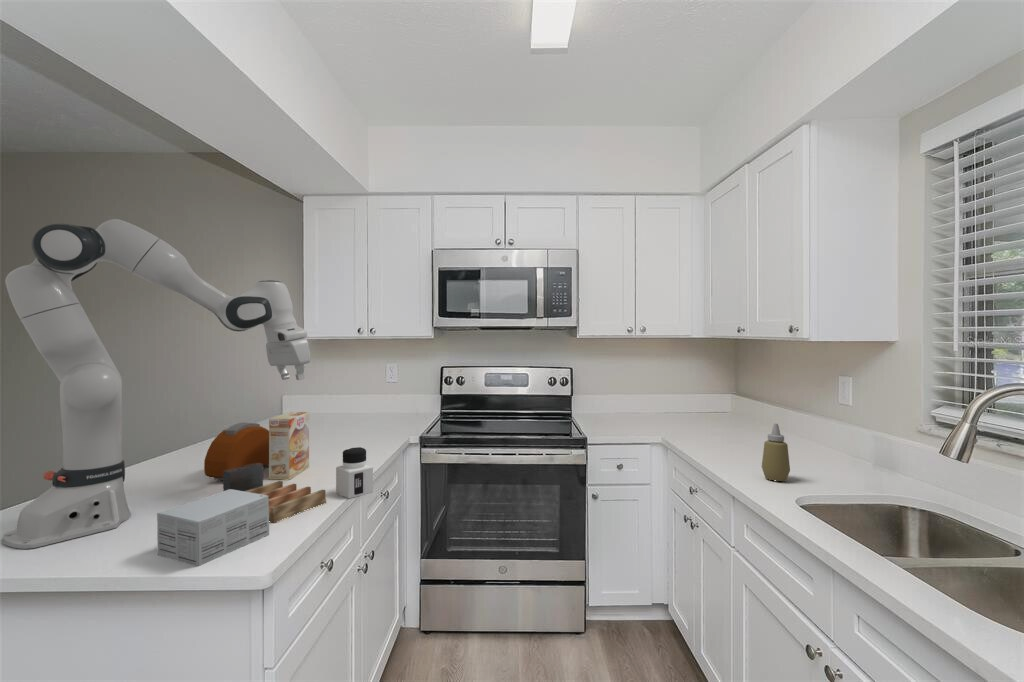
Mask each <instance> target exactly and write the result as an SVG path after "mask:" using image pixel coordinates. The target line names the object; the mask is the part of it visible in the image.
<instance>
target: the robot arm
mask: <svg viewBox="0 0 1024 682" xmlns="http://www.w3.org/2000/svg"><path fill="white" fill-rule="evenodd" d="M31 250H32V252H33V255H34V256H35V258H34V260H33V262H31V263H29V264H26V265H22V266H19V267H17V268H15V269H13V270H11V271H10V272H9V273H8V274H7V275H6V277H5V280H4V281H5V286H6V290H7V293H8V296H9V299H10V302H11V304H12V306H13V308H14V311H15V312H16V314H17V316H18V318H19V320H20V322H21V323H22V325H23V327H24V328H25V330H26V332H27V334H28V335H29V337H30V339H31V340H32V342H33V344H34V346H35V347H36V349H37V350H38V353H40V355H41V356H42V357H43V359H44V360H45V361H46V363H47V364H48V366H49V367H50V369H51V371H52V372H53V373H54V375H55V376H56V378H57V380H58V381H59V382H60V384H59V404H60V420H61V430H62V433H61V434H62V468H60V469H59V470H57V471H56V472H55V471H53V470H47V471H45V472H44V473H43V475H42V478H43V479H44V480H46V481H52V486H51V487H50V488H48V489H47V490H46V491H44V492H42V493H41V494H40V495H39V496H38V497H36V498H35V499H34V500H32V501H31V502H29V503H28V504H27V505H25V506H24V507H23V508H22V509H21V510H20V513H19V514H18V515H19V516H18V519H17V524H16V527H15V529H14V530H10V531H8V532H6V533H4V534H3V537H2V543H3V544H4V545H5V546H8V547H10V548H13V549H24V550H25V549H28V550H29V549H35V548H40V547H44V546H47V545H52V544H55V543H60V542H64V541H68V540H72V539H76V538H81V537H84V536H89V535H93V534H96V533H97V534H98V533H100V532H105V531H109V530H113V529H116V528H117V527H119V526H120V525H121V524H122V523H123V522H125V521H126V520H128V519H129V518H130V517H131V515H132V513H131V511H130V509H129V506H128V505H129V504H128V502H127V498H126V492H125V484H124V482H125V477H126V467H125V460H123V401H122V399H123V396H122V393H123V391H122V389H123V379H122V376H121V374H120V372H119V370H118V369H117V367H116V365H115V363H114V361H113V360H112V358H111V356H110V355H109V352H108V351H107V349H106V347H105V345H104V344H103V342H102V340H101V339H100V337H99V335H98V333H97V332H96V330H95V327H94V326H93V325H92V323H91V321H90V319H89V317H88V316H87V314H86V311H85V310H84V308H83V306H82V304H81V302H80V300H79V299H78V297H77V296H76V294H75V291H74V289H73V287H72V282H73V281H74V280H76V279H79V277H82V276H84V275H85V274H87V273H89V272H91V271H92V270H93V269H94V268H95V267H96V266H97V264H98V263H101V262H103V263H104V262H105V263H106V262H107V263H111V264H113V265H116V266H118V267H120V268H122V269H124V270H126V271H128V272H129V273H130V274H131V273H132V274H133V275H134V276H136V277H138V278H140V279H142V280H144V281H146V282H148V283H151V284H154V285H155V286H156V285H157V286H159V287H161V288H164V289H167V290H169V291H173V292H175V293H179V294H180V295H182V296H185V297H186V298H188V299H190V300H192V301H193V302H195V303H197V304H198V305H200V306H202V307H203V308H205V309H207V310H208V311H210V312H211V313H213V314H214V315H215V316H216V318H217V319H218V320H219V323H221V324H222V325H223V326H224V327H225V328H226V329H228V330H230V331H232V332H233V331H234V332H245V331H248V330H250V329H253V328H255V327H257V326H260V325H263V329H264V333H265V336H266V341H267V342H266V344H265V350H266V356H267V362H268V364H269V366H272V367H274V366H275V367H276V369H277V371H278V373H279V375H280V377H281V380H283V381H286V380H289V379H290V374H289V372H287V366H288V367H289V366H294V368H295V370H296V374H295V378H296V379H295V380H296V381H302V380H304V379H305V373H304V372H305V365H306V364H309V363H310V362H311V358H312V357H311V352H310V351H311V350H310V346H309V342H308V339H306V338H307V337H308V332H307V330H306V329H305V328H303V327H300V326H299V325H298V322H297V320H296V318H295V316H294V305H293V301H292V299H291V295H290V291H289V289H288V287H287V285H286V284H285V283H284V282H282V281H279V280H272V279H271V280H269V279H267V280H259V281H257V282H256V283H255V284H254V285H253V286H251V287H250V288H249V289H248V290H246V291H244V292H243V293H241V294H238V295H237V296H232V295H228V294H226V293H224V292H223V291H221V290H219V289H218V288H216V287H215V286H214V285H213V284H210V283H209V282H207V281H205V280H204V279H202V278H201V277H200V276H198V274H197V273H195V271H194V270H193V269H192V267H191V266H190V264H189V261H188V260H187V259H186V257H185V256H184V255H183V254H182V253H180V252H179V251H178V250H177V249H176V248H174V247H173V246H172V245H170V244H169V243H168V242H166V241H164V240H163V239H161V238H160V237H158V236H156V235H155V234H153V233H151V232H149V231H147V230H145V229H143V228H141V227H139V226H138V225H135V224H133V223H130V222H128V221H125V220H122V219H119V218H118V219H117V218H111V219H109V220H106V221H104V222H102V223H101V224H99V226H97V228H93V227H90V226H85V225H84V226H83V225H75V224H71V223H70V224H69V223H51V224H48V225H47V224H46V225H45V226H43V227H41V228H39V229H38V230H37V231H36V232H35V233H34V235H33V237H32V239H31Z"/></svg>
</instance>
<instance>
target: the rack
mask: <svg viewBox="0 0 1024 682" xmlns="http://www.w3.org/2000/svg"><path fill="white" fill-rule="evenodd" d="M311 491H312V487H311V486H305V487H303V488H299V489H297V483H292V484H291V483H290V484H288V485H286V486H284V481H283V480H277V481H275V482H272V483H268V484H263V486H261V487H257V488H254V489H251V490H247V491H244V492H250V493H256V494H262V495H267V496H268V499H269V521H270V522H269V523H273V524H276V523H277V521H278V522H281V521H283V520H285V519H284V518H286V519H288V518H291V517H293V516H292V515H294V514H296V515H298V514H297V513H299V512H302V511H304V510H307V509H309V510H311V509H310V508H312V509H314V508H313V507H315V508H317V507H319V506H318V505H320V506H322V505H325V504H327V497H326V496H327V495H326V493H327V492H326V491H327V490H326V489H319V490H318V491H314V492H311ZM324 503H325V504H324ZM321 504H322V505H321ZM316 506H317V507H316ZM307 511H308V510H307ZM304 512H305V511H304ZM302 513H303V512H302ZM299 514H300V513H299ZM290 516H291V517H290ZM294 516H295V515H294ZM287 517H288V518H287ZM282 519H283V520H282ZM280 520H281V521H280Z"/></svg>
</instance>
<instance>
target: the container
mask: <svg viewBox="0 0 1024 682" xmlns="http://www.w3.org/2000/svg"><path fill="white" fill-rule="evenodd" d="M373 474H374V467H373V466H372V465H369V464H367V450H366V449H365V448H364V447H361V446H354V447H348V448H346V449H344V450H343V451H342V465H338V466H336V467H335V489H336V490H335V492H336V494H338V495H340V496H342V497H345V498H347V499H354V498H357V497H360V496H361V497H362V496H365V495H369V494H372V493H373V492H374V475H373Z"/></svg>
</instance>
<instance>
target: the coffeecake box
mask: <svg viewBox="0 0 1024 682" xmlns="http://www.w3.org/2000/svg"><path fill="white" fill-rule="evenodd" d="M268 422H269V423H268V426H269V428H268V430H269V468H268V480H276V479H290V480H291V479H292V478H294V476H295V477H296V476H298V475H299V474H300V473H302V472H304V471H305V469H306V468H307V469H309V468H310V412H309V411H289V412H287V413H283V414H281V415H277V416H274V417H272V418H269V419H268ZM308 467H309V468H308ZM307 469H306V470H307ZM297 474H298V475H297Z"/></svg>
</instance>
